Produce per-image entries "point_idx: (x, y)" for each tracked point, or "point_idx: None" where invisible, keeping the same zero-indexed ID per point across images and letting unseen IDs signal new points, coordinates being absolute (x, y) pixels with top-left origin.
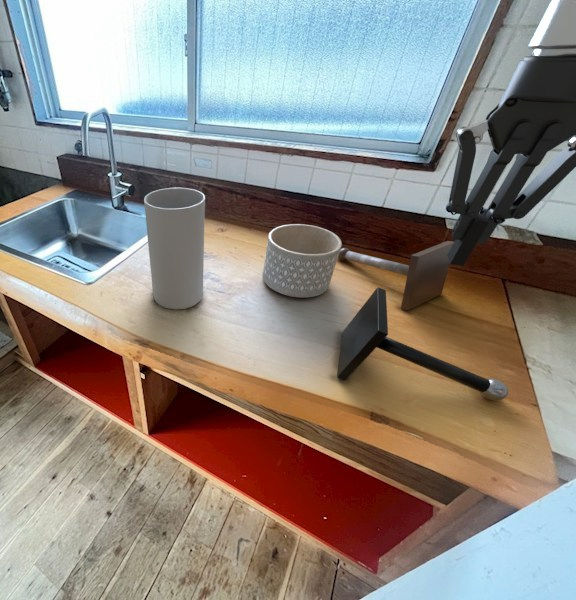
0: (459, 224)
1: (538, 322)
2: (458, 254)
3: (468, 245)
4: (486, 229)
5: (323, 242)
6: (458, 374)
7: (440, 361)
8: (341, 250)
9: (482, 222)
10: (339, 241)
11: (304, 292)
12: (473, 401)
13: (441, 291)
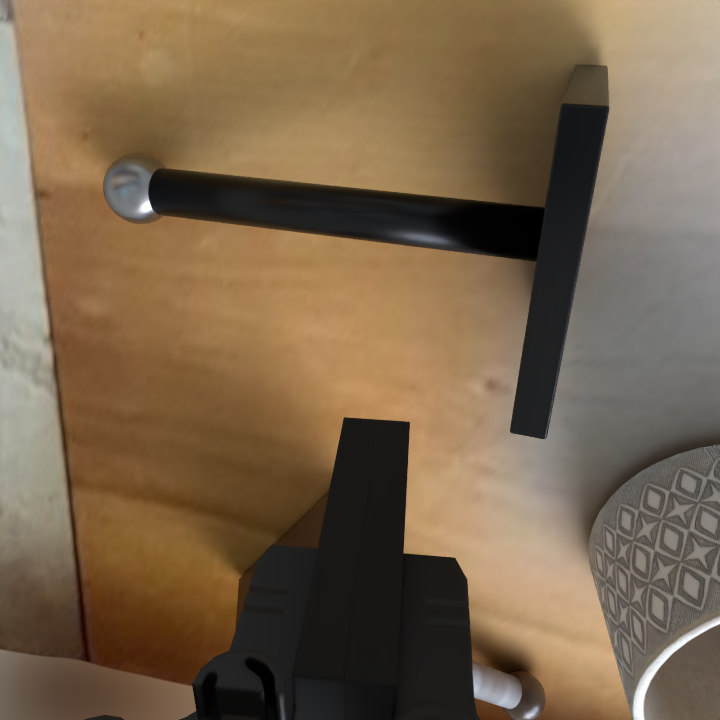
0: (470, 658)
1: (19, 526)
2: (391, 465)
3: (362, 512)
4: (283, 632)
5: (667, 709)
6: (233, 186)
7: (288, 211)
8: (537, 708)
9: (337, 672)
10: (641, 706)
11: (706, 462)
12: (186, 141)
13: (241, 585)
